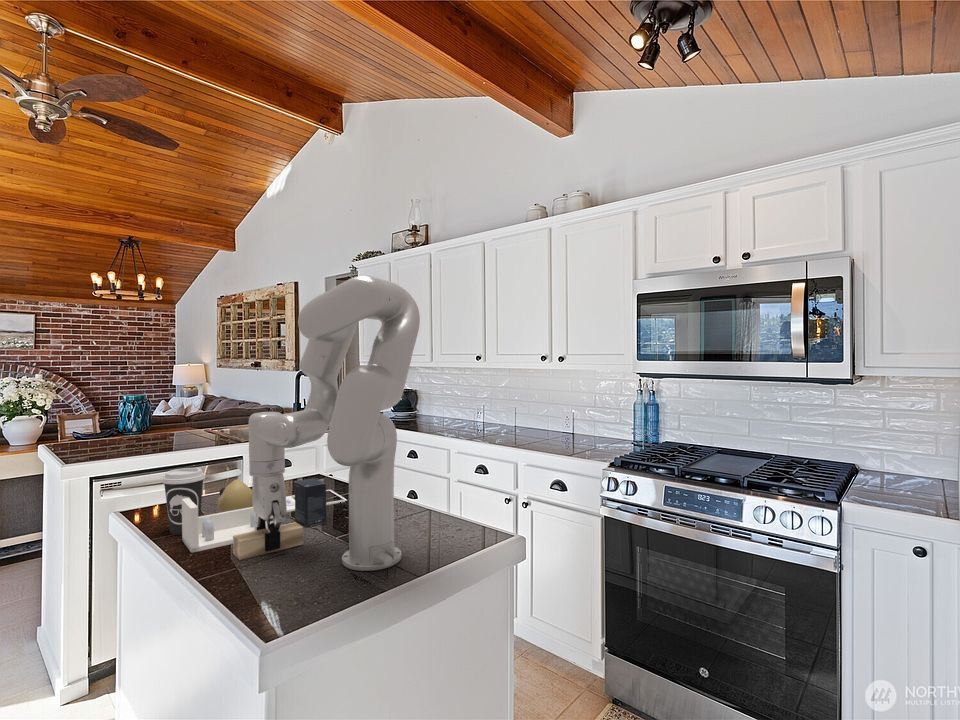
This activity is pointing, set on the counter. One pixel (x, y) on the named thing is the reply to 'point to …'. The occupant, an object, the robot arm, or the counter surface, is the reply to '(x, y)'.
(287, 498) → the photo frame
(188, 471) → the coffee cup
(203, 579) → the counter surface
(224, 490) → the tan rounded triangle
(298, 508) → the box
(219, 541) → the peg frame
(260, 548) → the oak board
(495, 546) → the counter surface
